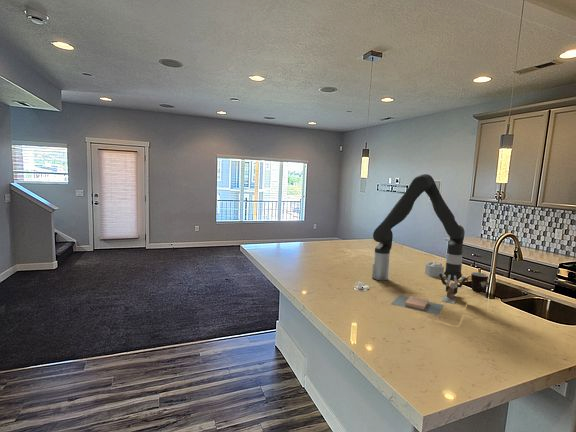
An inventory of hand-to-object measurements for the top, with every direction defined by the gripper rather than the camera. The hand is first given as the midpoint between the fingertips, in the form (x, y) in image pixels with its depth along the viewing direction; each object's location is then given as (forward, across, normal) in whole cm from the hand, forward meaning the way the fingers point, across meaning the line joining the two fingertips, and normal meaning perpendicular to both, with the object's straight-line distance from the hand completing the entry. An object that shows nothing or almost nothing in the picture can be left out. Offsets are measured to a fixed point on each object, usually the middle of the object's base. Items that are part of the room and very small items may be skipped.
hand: (451, 293), depth 173 cm
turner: (+1, 0, -2) cm, 2 cm away
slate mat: (+3, -12, -24) cm, 27 cm away
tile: (+1, -12, -19) cm, 22 cm away
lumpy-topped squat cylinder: (+3, -17, +44) cm, 48 cm away
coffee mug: (+3, +10, +24) cm, 27 cm away
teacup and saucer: (+3, -42, -18) cm, 46 cm away
